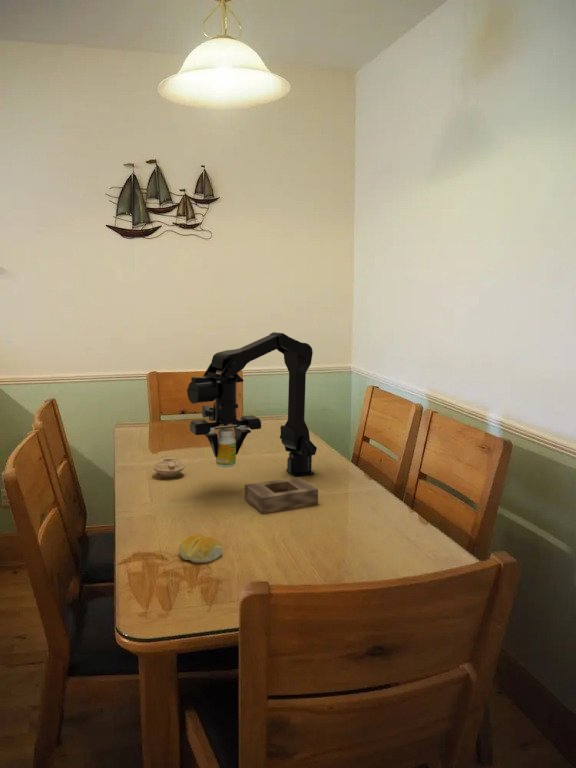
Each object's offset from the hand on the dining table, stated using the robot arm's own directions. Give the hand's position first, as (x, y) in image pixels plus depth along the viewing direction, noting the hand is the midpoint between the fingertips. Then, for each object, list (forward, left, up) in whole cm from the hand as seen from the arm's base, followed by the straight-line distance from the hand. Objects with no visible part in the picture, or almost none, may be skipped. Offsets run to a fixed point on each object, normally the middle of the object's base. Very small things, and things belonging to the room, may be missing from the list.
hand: (225, 455), depth 164 cm
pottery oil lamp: (+10, -21, -10) cm, 25 cm away
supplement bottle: (0, 0, -3) cm, 3 cm away
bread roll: (+19, +35, -10) cm, 41 cm away
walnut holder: (-10, +14, -10) cm, 20 cm away
